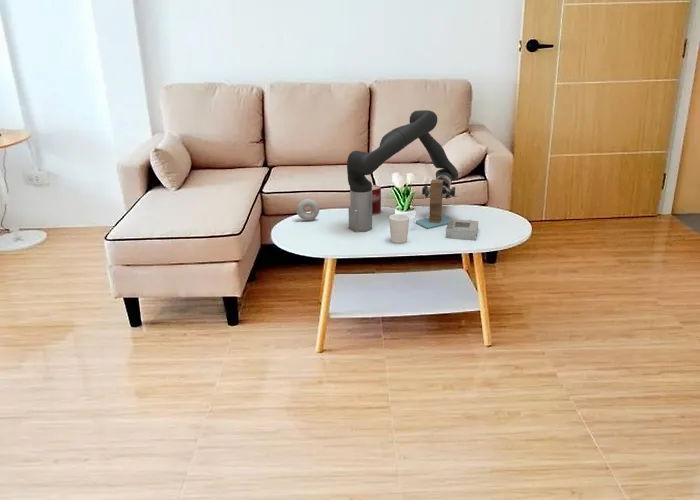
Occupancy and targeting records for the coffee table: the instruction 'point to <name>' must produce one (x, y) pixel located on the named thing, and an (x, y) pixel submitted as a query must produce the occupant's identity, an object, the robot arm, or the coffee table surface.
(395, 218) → the beige cup
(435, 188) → the walnut post
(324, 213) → the coffee table surface
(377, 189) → the soda can
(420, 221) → the slate mat
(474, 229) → the socket block
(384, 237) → the coffee table surface
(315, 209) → the donut
